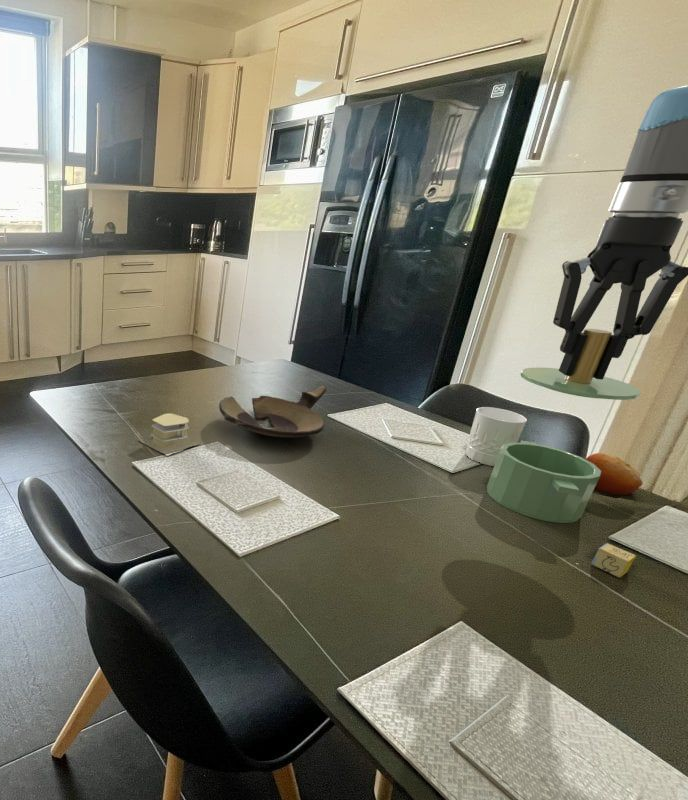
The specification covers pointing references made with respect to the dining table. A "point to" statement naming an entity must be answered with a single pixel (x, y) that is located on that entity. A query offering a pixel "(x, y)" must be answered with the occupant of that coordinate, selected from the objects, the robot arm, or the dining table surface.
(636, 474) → the fruit
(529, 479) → the pot
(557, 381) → the lid
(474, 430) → the white cup
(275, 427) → the broken brown bowl
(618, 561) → the alphabet block
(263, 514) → the dining table surface
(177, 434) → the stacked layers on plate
